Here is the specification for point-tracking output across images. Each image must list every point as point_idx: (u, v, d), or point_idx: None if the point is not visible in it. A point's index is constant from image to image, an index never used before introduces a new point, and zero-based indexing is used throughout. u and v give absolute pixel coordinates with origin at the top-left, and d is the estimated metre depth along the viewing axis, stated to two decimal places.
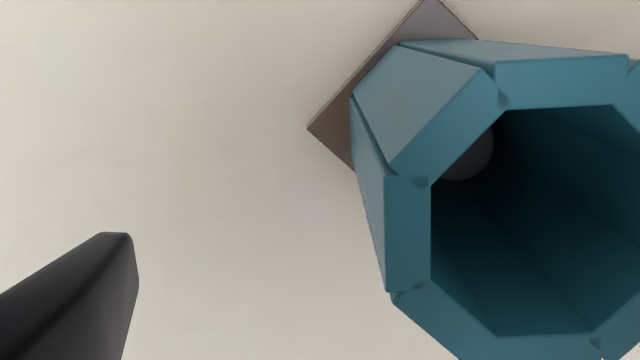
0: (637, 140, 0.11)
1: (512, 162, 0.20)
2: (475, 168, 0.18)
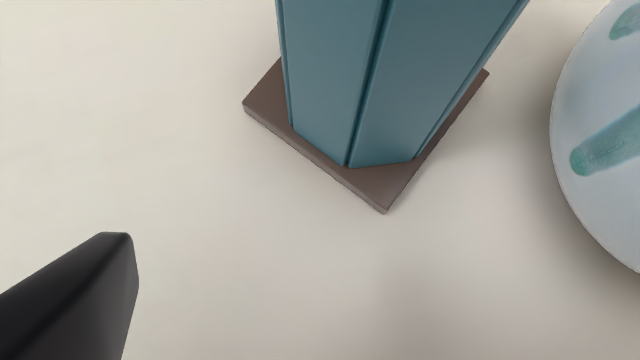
0: None
1: None
2: None
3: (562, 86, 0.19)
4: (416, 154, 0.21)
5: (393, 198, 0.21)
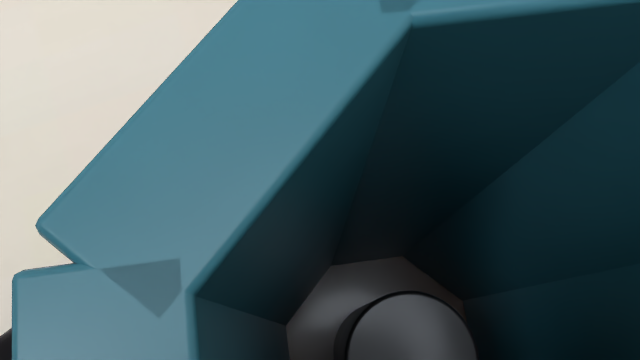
0: None
1: None
2: None
3: None
4: None
5: None
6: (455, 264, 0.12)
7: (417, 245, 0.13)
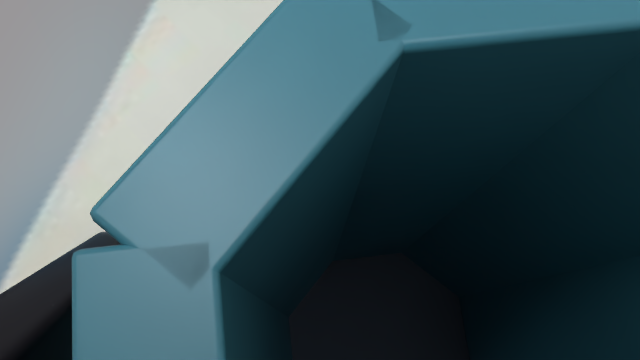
0: None
1: None
2: None
3: None
4: None
5: None
6: (451, 261, 0.13)
7: (415, 242, 0.14)
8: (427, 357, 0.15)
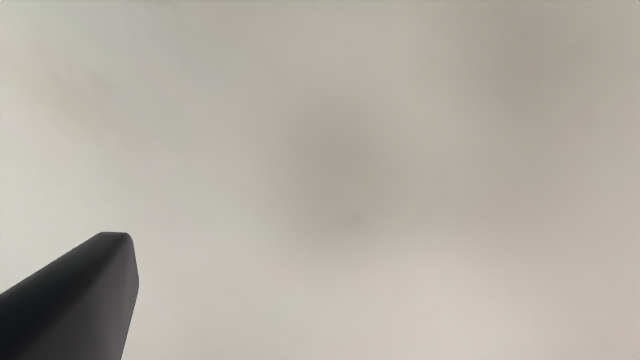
0: None
1: None
2: None
3: None
4: None
5: None
6: None
7: None
8: None
